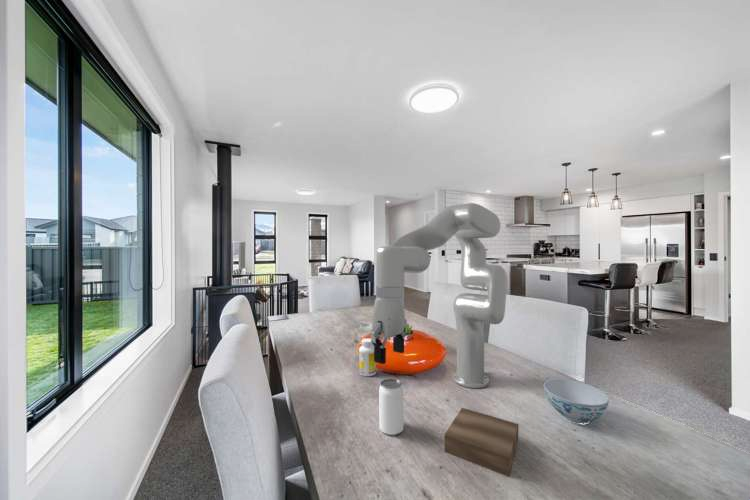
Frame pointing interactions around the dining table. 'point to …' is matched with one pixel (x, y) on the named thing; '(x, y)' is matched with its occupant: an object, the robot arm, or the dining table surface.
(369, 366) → the supplement bottle
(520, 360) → the dining table surface
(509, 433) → the base
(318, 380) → the dining table surface
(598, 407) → the chinaware
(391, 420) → the can
